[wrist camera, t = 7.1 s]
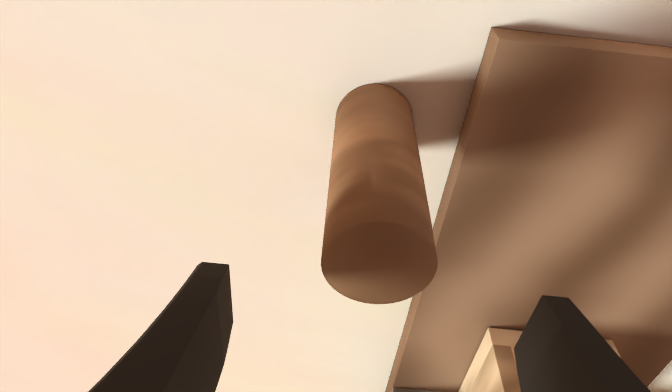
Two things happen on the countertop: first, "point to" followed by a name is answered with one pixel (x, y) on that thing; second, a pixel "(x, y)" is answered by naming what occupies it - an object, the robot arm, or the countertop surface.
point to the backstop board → (552, 206)
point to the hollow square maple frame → (497, 363)
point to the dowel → (377, 202)
